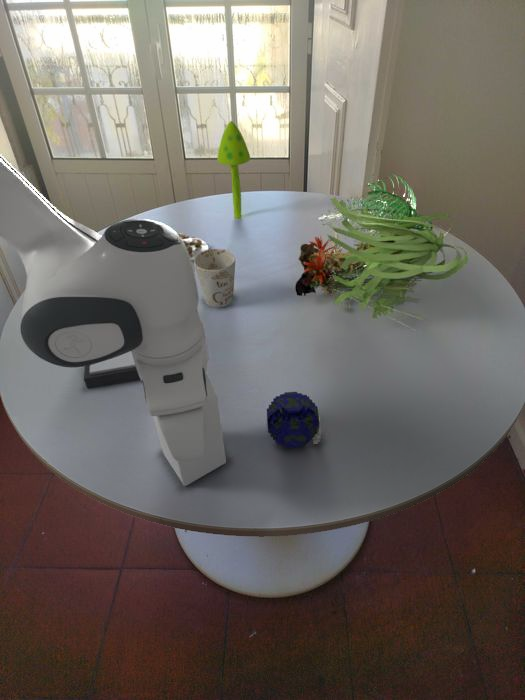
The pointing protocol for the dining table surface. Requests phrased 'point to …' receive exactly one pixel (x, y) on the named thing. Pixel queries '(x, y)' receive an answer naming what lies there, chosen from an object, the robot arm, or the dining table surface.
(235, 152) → the mushroom
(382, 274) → the plant
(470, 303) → the dining table surface
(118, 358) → the scale
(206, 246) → the plate of food scraps
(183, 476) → the milk carton
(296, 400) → the ball
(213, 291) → the mug
